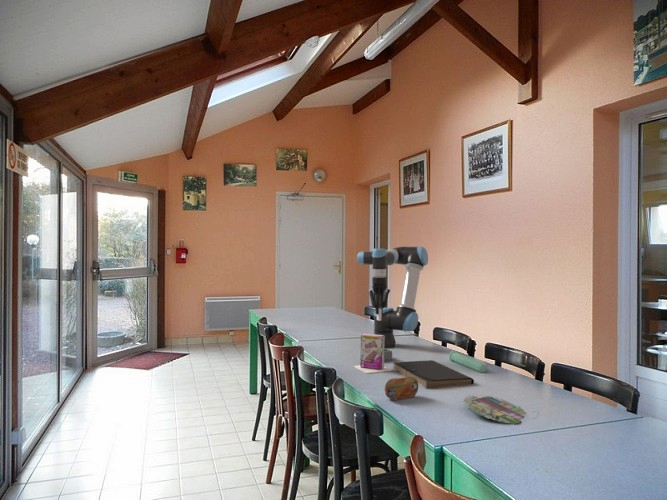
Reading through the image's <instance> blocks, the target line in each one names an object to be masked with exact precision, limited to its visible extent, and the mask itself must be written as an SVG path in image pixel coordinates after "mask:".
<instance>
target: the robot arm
mask: <svg viewBox="0 0 667 500" xmlns="http://www.w3.org/2000/svg"><path fill="white" fill-rule="evenodd" d="M356 261H357V262H358V264H359V265H363V266H364V265H368V266H369V265H370V266H371V265H372V270H371V271H372V272H371V273H372V275H371V276H372V281H371V284H372V285H371V288H370V289H368V290H367V292H368V294H369V297H370V303H371V306H372V307H373V308H374V309H375V310H374V313H373V314H374V316H373V321H374V323H373V326H374V327H373V328H374V329H373V334H375V335H384V336H385V342H384V348H386V349H391V348H395V347H396V345H397V342H396V338H395V336H394V335H395V334H394V330H395V331H402V332H414V330H416V328H417V326H418V324H419V314H418V312H417V310H416V308H415V304H416V298H417V292H418V287H419V286H418V285H419V280H420V274H421V271H423V270H424V267H425V266H427V265H428V264H429V263H428V262H429V254H428V251H427V249H426V247H425V246H398V247H393V248H388V249H386V248H373V249H372V251H359V252H358V253H357V255H356ZM395 264H397V265H403V266H404V268H406V270H405V274H404V275H405V276H404V281H403V285H402V292H401V296H400V297H401V298H400V302H399V305H397V307H396V310H394V307H387V305H388V299H389V294H390V292H391V289H389V288H388V287H387V285H386V284H387V266H393V265H395Z"/></svg>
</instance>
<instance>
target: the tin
mask: <svg viewBox="0 0 667 500" xmlns="http://www.w3.org/2000/svg"><path fill="white" fill-rule="evenodd" d="M384 385H385V386H384V393H385V396H386V397H387V398H388V399H390V400H392V401H396V402H397V401H401V400H407V399H411V398H414V397H415V396H416V395H417V394H418V391H419V383H418V382H417V380H416V379H415V378H414V377H410V376H400V377H394V378H390V379H388V380H387V382H385V384H384Z"/></svg>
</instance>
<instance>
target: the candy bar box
mask: <svg viewBox="0 0 667 500" xmlns="http://www.w3.org/2000/svg"><path fill="white" fill-rule="evenodd" d="M384 342H385V336H384V335H375V334H374V333H362V334H361V335H360V364H359V365H360V367H361V368H370V369H379V370H382V369H383V368H384V366H385V361H384Z"/></svg>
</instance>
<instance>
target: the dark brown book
mask: <svg viewBox="0 0 667 500" xmlns="http://www.w3.org/2000/svg"><path fill="white" fill-rule="evenodd" d="M392 365H393V367H392V368H393V370H394V371H396V372H398V373H400V374H401V375H403V377H405V376H410V377H414V378H415V379H416V380H417V382H418V385H421V386H422V387H424V388H425V389H434V388H437V389H438V388H446V387H457V386H458V387H459V386H466V385H468V386H469V385H473V384H474V381H475V380H474V379H473V378H472V377H470V376H468V375H466V374H464V373H461V372H460V371H457V370H455V369H453V368H451V367H448V366H447V365H444V364H441V363H440V362H438V361H435V360H431V359H430V360H414V361H412V360H411V361H400V362H398V361H397V362H393V364H392Z"/></svg>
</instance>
